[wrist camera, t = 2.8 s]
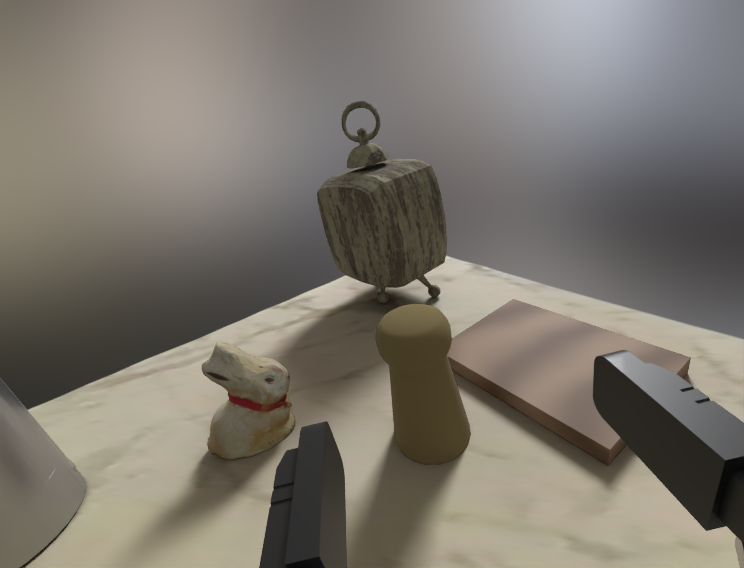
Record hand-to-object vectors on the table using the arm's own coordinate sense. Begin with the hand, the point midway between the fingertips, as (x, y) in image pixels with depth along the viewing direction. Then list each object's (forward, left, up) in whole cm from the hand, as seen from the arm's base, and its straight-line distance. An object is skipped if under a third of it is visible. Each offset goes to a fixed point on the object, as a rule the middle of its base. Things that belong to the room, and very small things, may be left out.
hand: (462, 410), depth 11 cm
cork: (+12, +6, -15) cm, 20 cm away
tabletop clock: (+33, +16, -15) cm, 40 cm away
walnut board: (+20, -3, -15) cm, 26 cm away
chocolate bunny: (+8, +21, -15) cm, 27 cm away
